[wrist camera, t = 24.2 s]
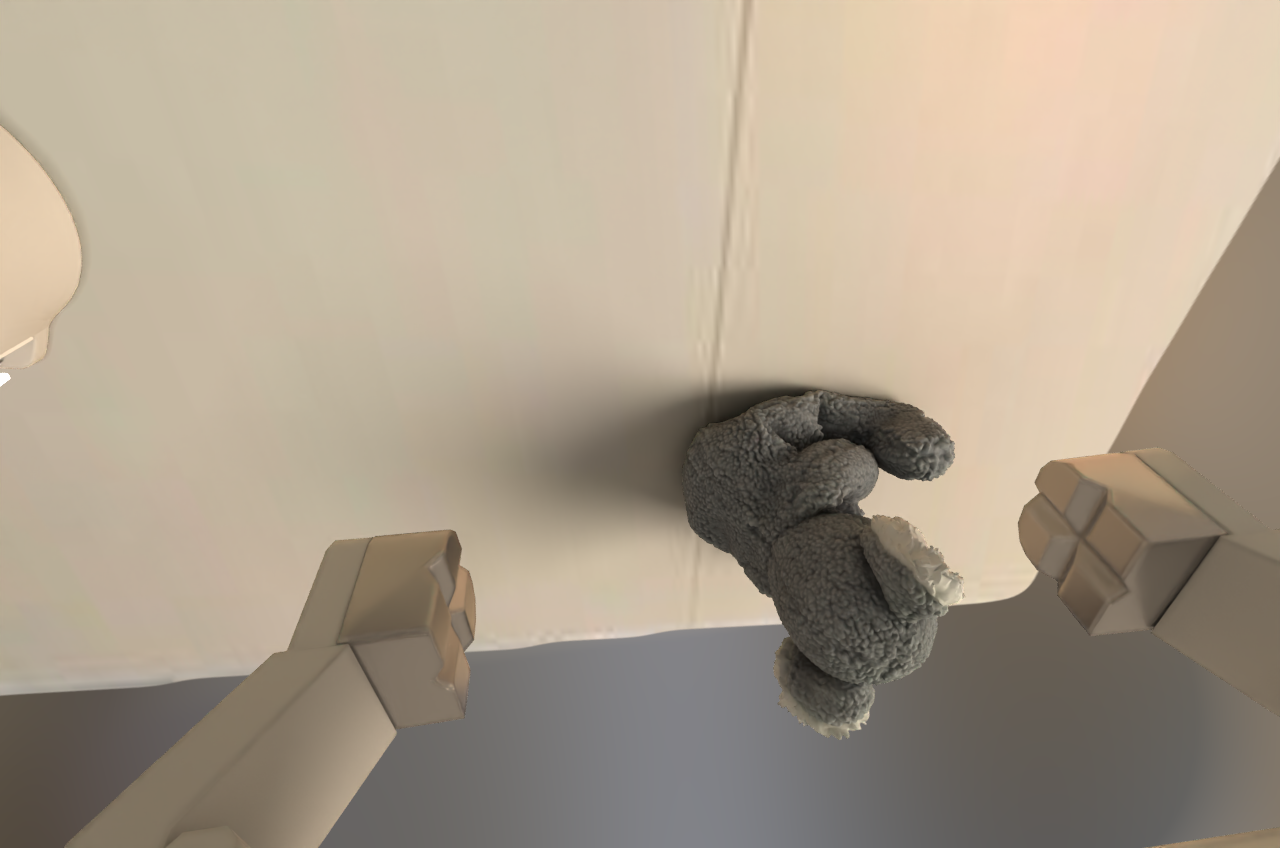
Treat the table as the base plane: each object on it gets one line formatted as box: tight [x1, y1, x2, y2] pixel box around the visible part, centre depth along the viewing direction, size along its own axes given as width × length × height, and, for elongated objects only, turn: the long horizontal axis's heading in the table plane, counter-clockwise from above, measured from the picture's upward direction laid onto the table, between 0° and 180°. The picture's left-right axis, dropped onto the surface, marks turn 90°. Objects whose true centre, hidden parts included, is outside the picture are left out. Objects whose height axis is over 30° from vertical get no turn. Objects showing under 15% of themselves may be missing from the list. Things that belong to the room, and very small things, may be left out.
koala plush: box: [682, 390, 965, 740], centre depth 42 cm, size 17×18×20 cm
